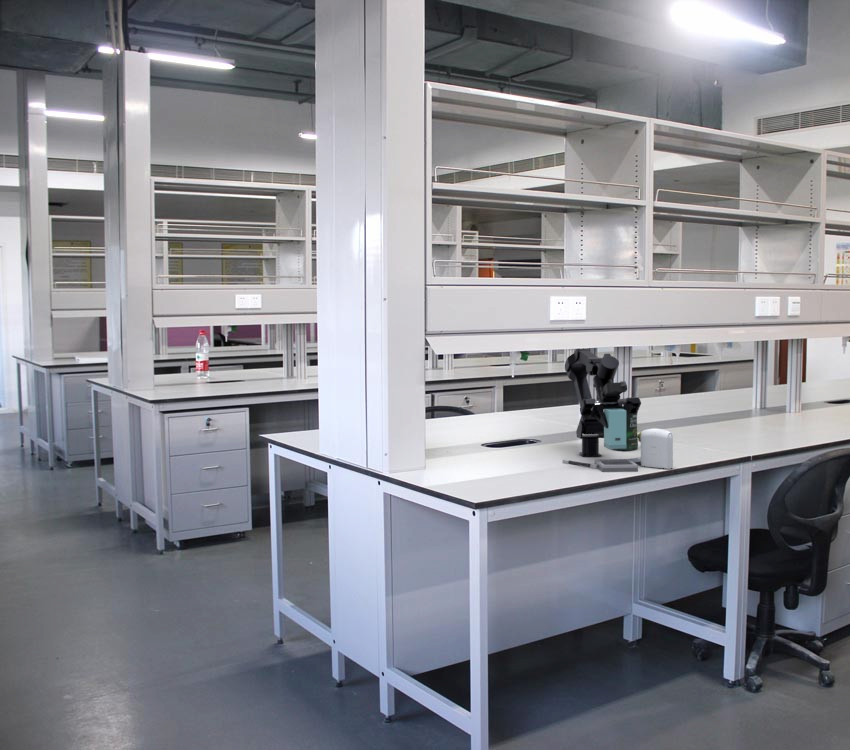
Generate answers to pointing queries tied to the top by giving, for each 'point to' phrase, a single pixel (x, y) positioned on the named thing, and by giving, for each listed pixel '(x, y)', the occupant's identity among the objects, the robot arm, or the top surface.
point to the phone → (636, 461)
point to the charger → (615, 429)
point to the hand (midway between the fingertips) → (616, 427)
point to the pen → (580, 463)
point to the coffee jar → (630, 431)
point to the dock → (616, 465)
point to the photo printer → (657, 448)
